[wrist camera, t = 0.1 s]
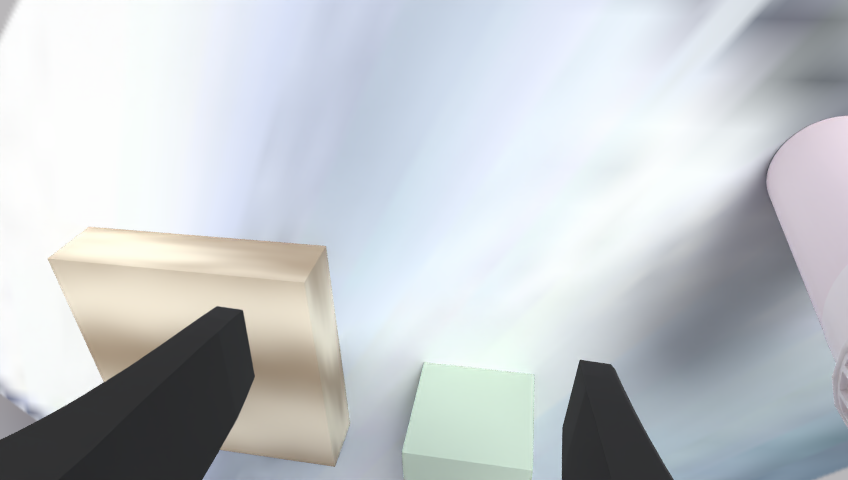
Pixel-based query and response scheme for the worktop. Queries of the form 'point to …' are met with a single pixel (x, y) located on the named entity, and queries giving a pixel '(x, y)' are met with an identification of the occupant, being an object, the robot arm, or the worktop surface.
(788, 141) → the smoothie
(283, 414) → the birch block
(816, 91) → the worktop surface
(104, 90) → the worktop surface
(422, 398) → the sage cube
